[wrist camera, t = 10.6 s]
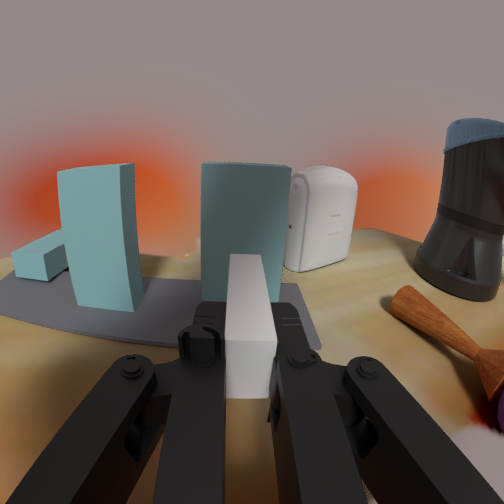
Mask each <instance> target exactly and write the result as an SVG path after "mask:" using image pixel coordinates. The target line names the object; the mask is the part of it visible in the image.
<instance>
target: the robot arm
mask: <svg viewBox="0 0 504 504" xmlns="http://www.w3.org/2000/svg"><path fill="white" fill-rule="evenodd" d="M444 154H445V159H444V169H443V176H442V184H441V190H440V197H439V203H438V208H437V214H436V218H435V220H434V222H433V224H432V226H431V229H430V230H429V232H428V234H427V236H426V238H425V240H424V243H423V245H421V246H420V247H419V249H418V251H417V254H416V258H415V262H414V267H415V269H416V271H417V272H418V273H419V274H420V275H421V276H422V277H423V278H424V279H426V280H427V281H428V282H430V283H431V284H433V285H435V286H436V287H438V288H440V289H442V290H444V291H446V292H448V293H451V294H453V295H456V296H459V297H462V298H465V299H469V300H474V301H489V300H492V299H494V298H495V296H496V294H497V291H498V288H499V286H500V282H501V269H502V242H503V236H504V123H502V122H499V121H495V120H490V119H481V118H467V119H460V120H457V121H454V122H453V123H451V124H450V125H449V127H448V129H447V135H446V144H445V149H444ZM177 338H178V345H179V353H180V358H179V359H177V360H175V361H173V362H169V363H164V364H156V365H153V363H152V362H151V361H150V359H148V358H146V357H144V356H142V355H136V354H133V355H126V356H124V357H121V358H119V359H118V360H117V361H115V362H114V363H113V364H112V366H111V367H110V368H109V369H108V370H107V372H106V373H105V374H104V375H103V376H102V378H101V379H100V380H99V381H98V382H97V384H96V385H95V386H94V387H93V388H92V390H91V391H90V392H89V393H88V395H87V396H86V397H85V398H84V399H83V401H82V402H81V403H80V404H79V406H78V407H77V408H76V409H75V411H74V412H73V413H72V414H71V416H70V417H69V418H68V419H67V421H66V422H65V423H64V424H63V426H62V427H61V428H60V430H59V431H58V432H57V433H56V435H55V436H54V437H53V439H52V440H51V441H50V443H49V444H48V445H47V446H46V448H45V449H44V450H43V452H42V453H41V454H40V456H39V457H38V458H37V460H36V461H35V462H34V464H33V465H32V467H31V468H30V469H29V471H28V472H27V473H26V475H25V476H24V478H23V479H22V480H21V482H20V483H19V485H18V486H17V487H16V489H15V490H14V492H13V493H12V495H11V496H10V497H9V499H8V500H7V502H6V503H5V504H126V502H127V500H128V498H129V496H130V495H131V493H132V491H133V489H134V487H135V485H136V483H137V481H138V479H139V478H140V476H141V474H142V472H143V470H144V468H145V466H146V464H147V462H148V460H149V458H150V457H151V455H152V453H153V451H154V449H155V447H156V445H157V443H158V441H159V439H160V437H161V436H162V434H163V432H164V430H165V432H164V437H163V443H162V448H161V454H160V460H159V466H158V472H157V478H156V484H155V491H154V498H153V504H225V425H226V398H268V397H269V391H270V398H271V403H270V408H269V414H268V419H267V422H271V430H272V439H273V448H274V457H275V466H276V475H277V483H278V492H279V501H280V504H368V502H367V499H366V495H365V492H364V488H363V485H362V482H361V478H362V480H363V482H364V483H365V485H366V486H367V488H368V489H369V491H370V492H371V494H372V495H373V497H374V499H375V500H376V502H377V503H378V504H504V502H503V501H502V499H501V498H500V497H499V496H498V495H497V493H496V492H495V491H494V490H493V488H492V487H491V486H490V485H489V484H488V482H487V481H486V480H485V479H484V478H483V476H482V475H481V474H480V473H479V472H478V470H477V469H476V468H475V467H474V466H473V465H472V464H471V462H470V461H469V460H468V459H467V458H466V456H465V455H464V454H463V453H462V452H461V451H460V449H459V448H458V447H457V446H456V445H455V444H454V443H453V442H452V440H451V439H450V438H449V437H448V436H447V435H446V433H445V432H444V431H443V430H442V429H441V428H440V427H439V425H438V424H437V423H436V422H435V421H434V420H433V419H432V418H431V416H430V415H429V414H428V413H427V412H426V411H425V410H424V409H423V408H422V406H421V405H420V404H419V403H418V402H417V401H416V400H415V399H414V398H413V396H412V395H411V394H410V393H409V392H408V391H407V390H406V389H405V388H404V387H403V385H402V384H401V383H400V382H399V381H398V380H397V379H396V378H395V377H394V376H393V375H392V373H391V372H390V371H389V370H388V369H387V368H386V367H385V366H384V365H383V364H382V363H381V362H379V361H378V360H376V359H374V358H371V357H366V356H361V357H356V358H354V359H352V360H350V362H349V363H348V365H347V366H341V365H335V364H330V363H326V362H324V361H322V360H321V358H320V356H319V355H318V353H316V352H315V351H313V350H312V349H310V346H309V343H308V340H307V337H306V334H305V331H304V328H303V325H302V322H301V319H300V316H299V313H298V310H297V309H296V308H295V307H294V306H293V305H292V304H291V303H290V302H270V300H269V295H268V290H267V285H266V279H265V274H264V269H263V264H262V259H261V255H252V254H230V264H229V278H228V292H227V302H216V301H202V302H201V303H200V304H199V305H198V306H197V307H196V311H195V315H194V319H193V324H192V325H191V326H187V327H186V328H184V329H183V330H181V331H180V333H179V334H178V336H177ZM360 477H361V478H360Z"/></svg>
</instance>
